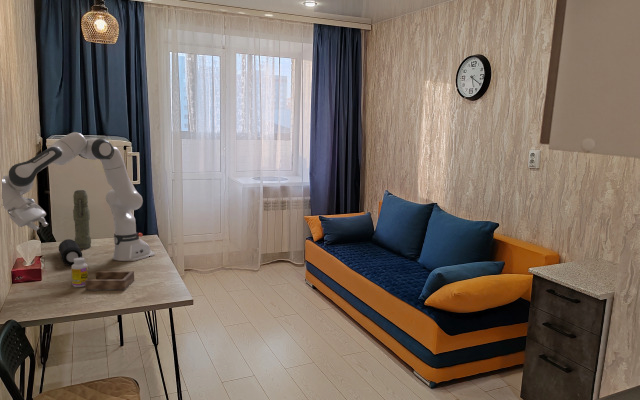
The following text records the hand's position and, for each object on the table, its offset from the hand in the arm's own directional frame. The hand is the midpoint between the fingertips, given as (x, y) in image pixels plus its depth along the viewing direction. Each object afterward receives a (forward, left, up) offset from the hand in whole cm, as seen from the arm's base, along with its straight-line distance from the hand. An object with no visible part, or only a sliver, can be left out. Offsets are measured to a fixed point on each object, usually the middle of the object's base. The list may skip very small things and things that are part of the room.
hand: (42, 227), depth 218 cm
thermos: (-42, -57, -28) cm, 76 cm away
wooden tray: (-20, +20, -28) cm, 40 cm away
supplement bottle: (-11, +11, -28) cm, 32 cm away
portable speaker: (-25, -34, -28) cm, 51 cm away
